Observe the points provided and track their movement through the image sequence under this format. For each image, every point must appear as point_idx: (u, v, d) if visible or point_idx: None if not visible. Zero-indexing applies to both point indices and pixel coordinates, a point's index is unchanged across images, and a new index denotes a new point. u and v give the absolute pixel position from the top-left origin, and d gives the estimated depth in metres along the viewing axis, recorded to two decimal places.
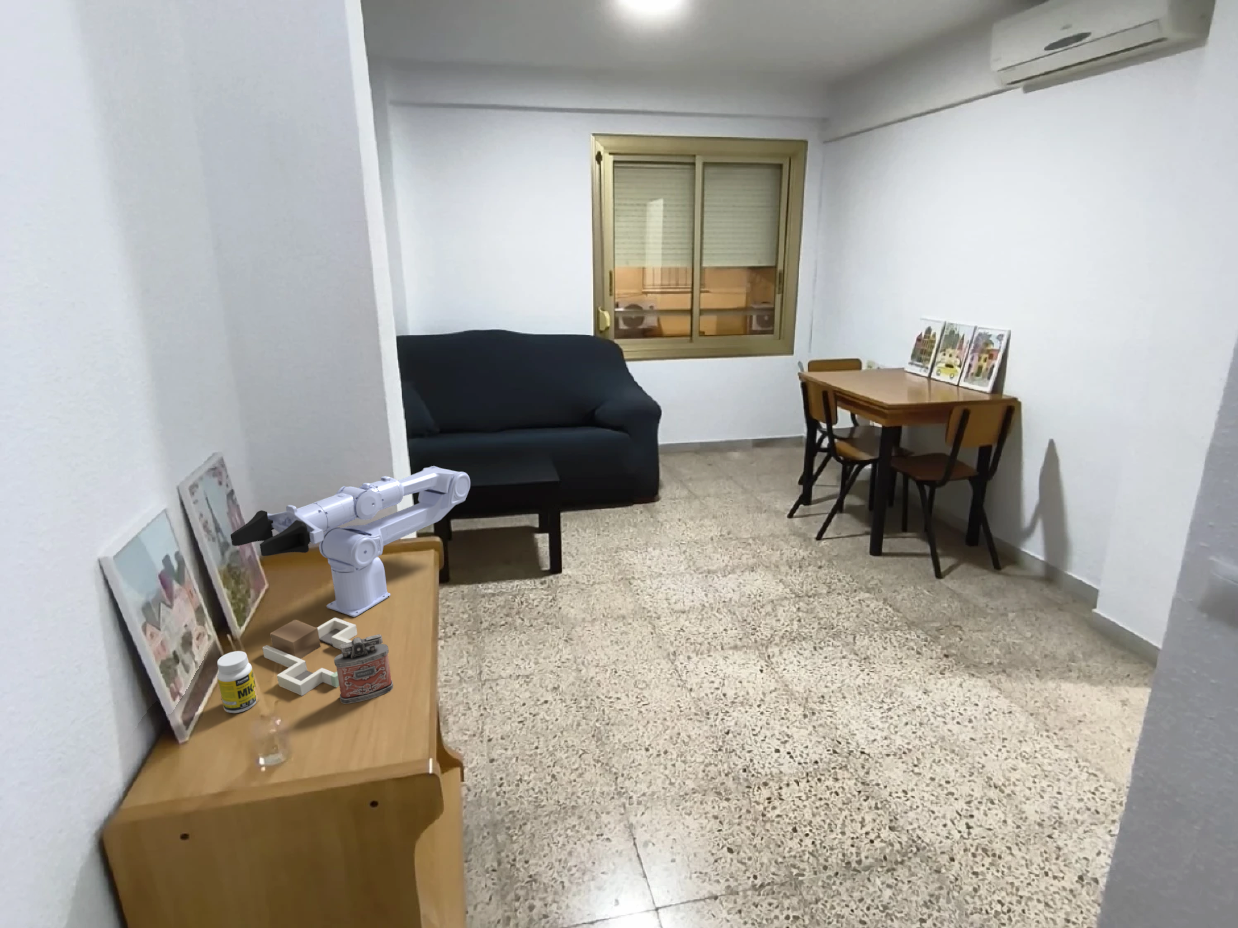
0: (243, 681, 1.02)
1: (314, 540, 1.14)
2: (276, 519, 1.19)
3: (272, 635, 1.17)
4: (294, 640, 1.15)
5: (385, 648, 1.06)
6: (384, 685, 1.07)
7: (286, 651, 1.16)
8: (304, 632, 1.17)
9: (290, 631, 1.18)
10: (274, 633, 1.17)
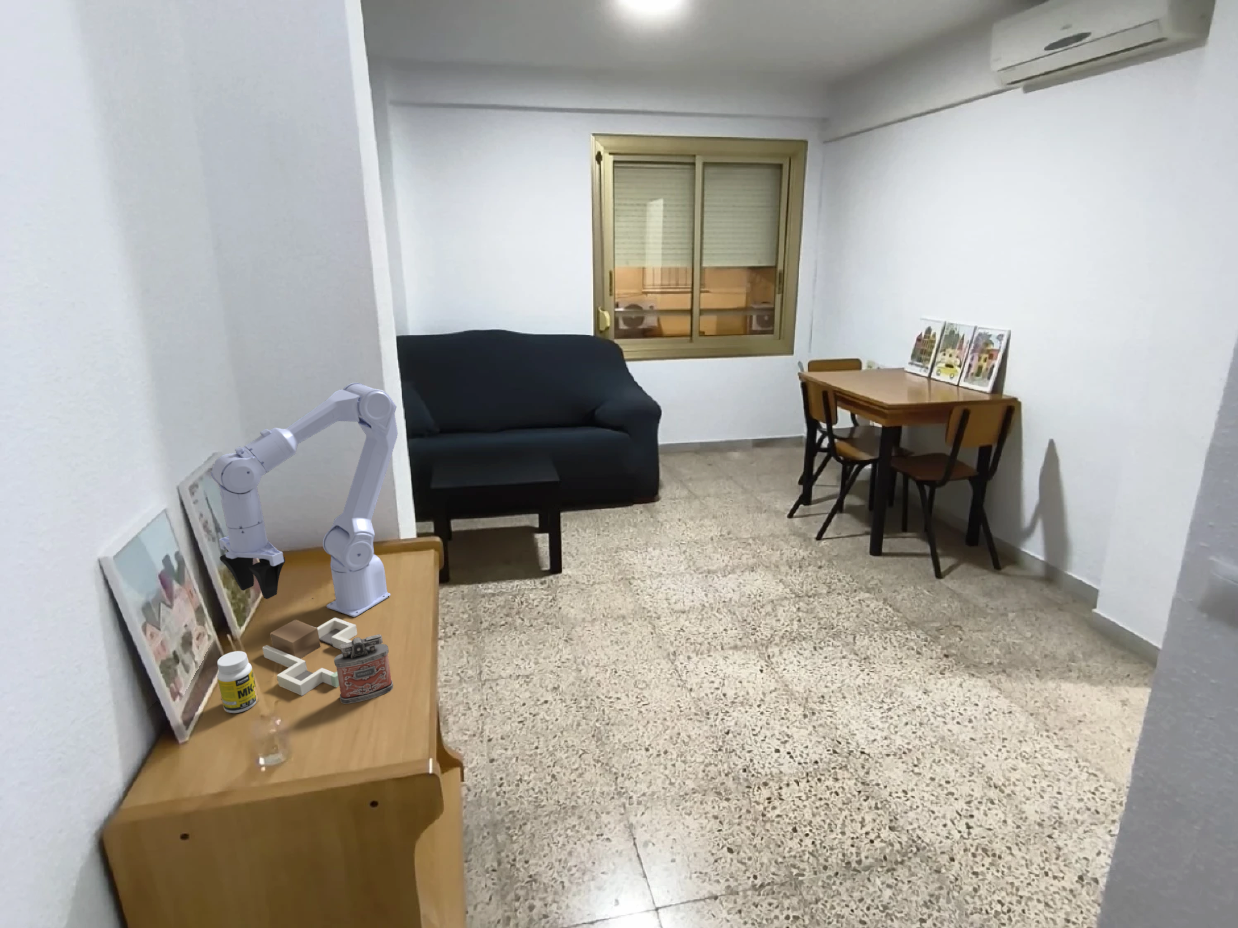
0: (243, 681, 1.02)
1: (280, 562, 1.14)
2: None
3: (272, 635, 1.17)
4: (294, 640, 1.15)
5: (385, 649, 1.06)
6: (384, 685, 1.07)
7: (286, 651, 1.16)
8: (304, 632, 1.17)
9: (290, 631, 1.18)
10: (274, 633, 1.17)
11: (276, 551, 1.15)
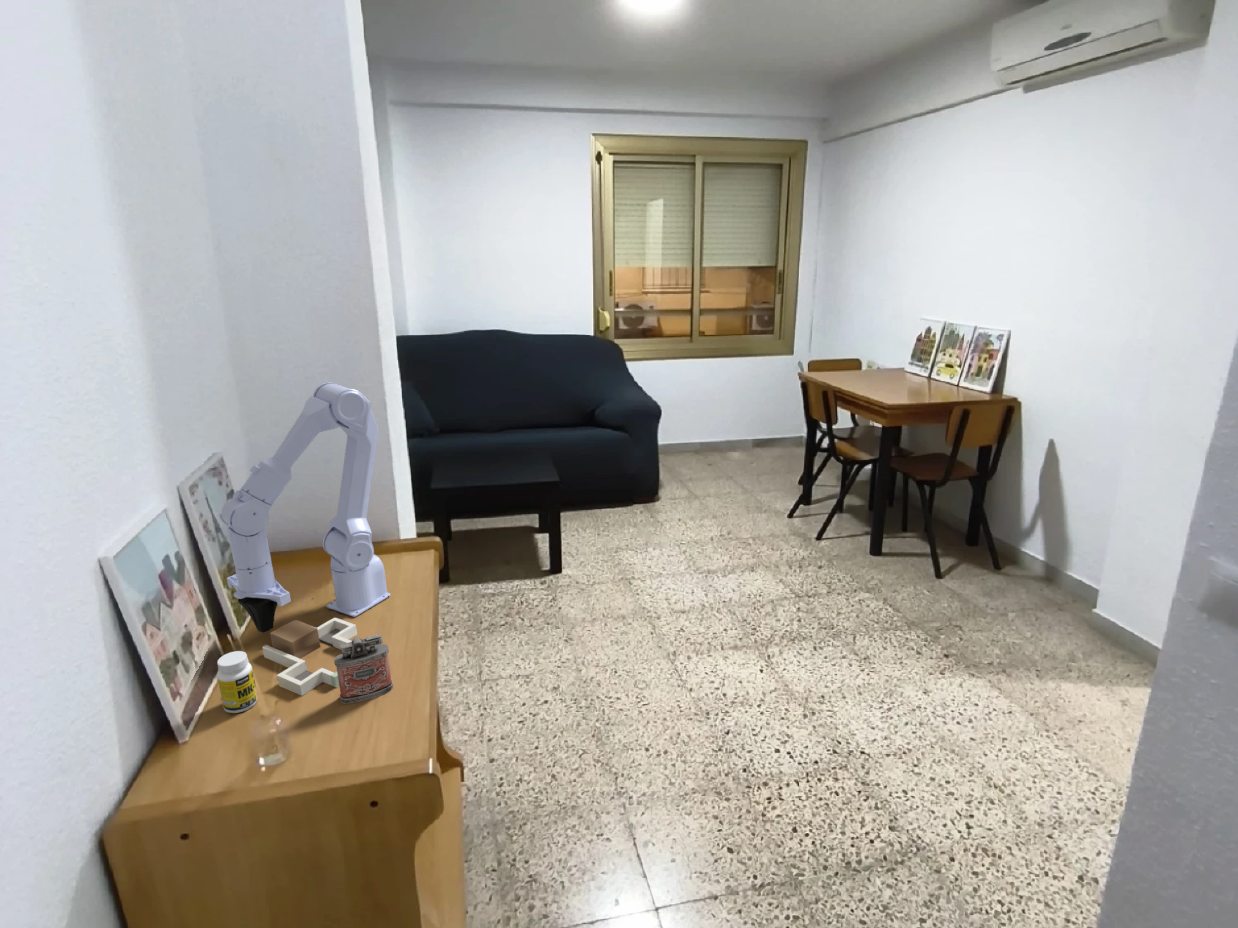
0: (243, 681, 1.02)
1: (287, 602, 1.17)
2: None
3: (272, 635, 1.17)
4: (293, 640, 1.15)
5: (385, 649, 1.06)
6: (384, 685, 1.07)
7: (286, 651, 1.16)
8: (304, 632, 1.17)
9: (290, 631, 1.18)
10: (274, 633, 1.17)
11: (283, 591, 1.17)
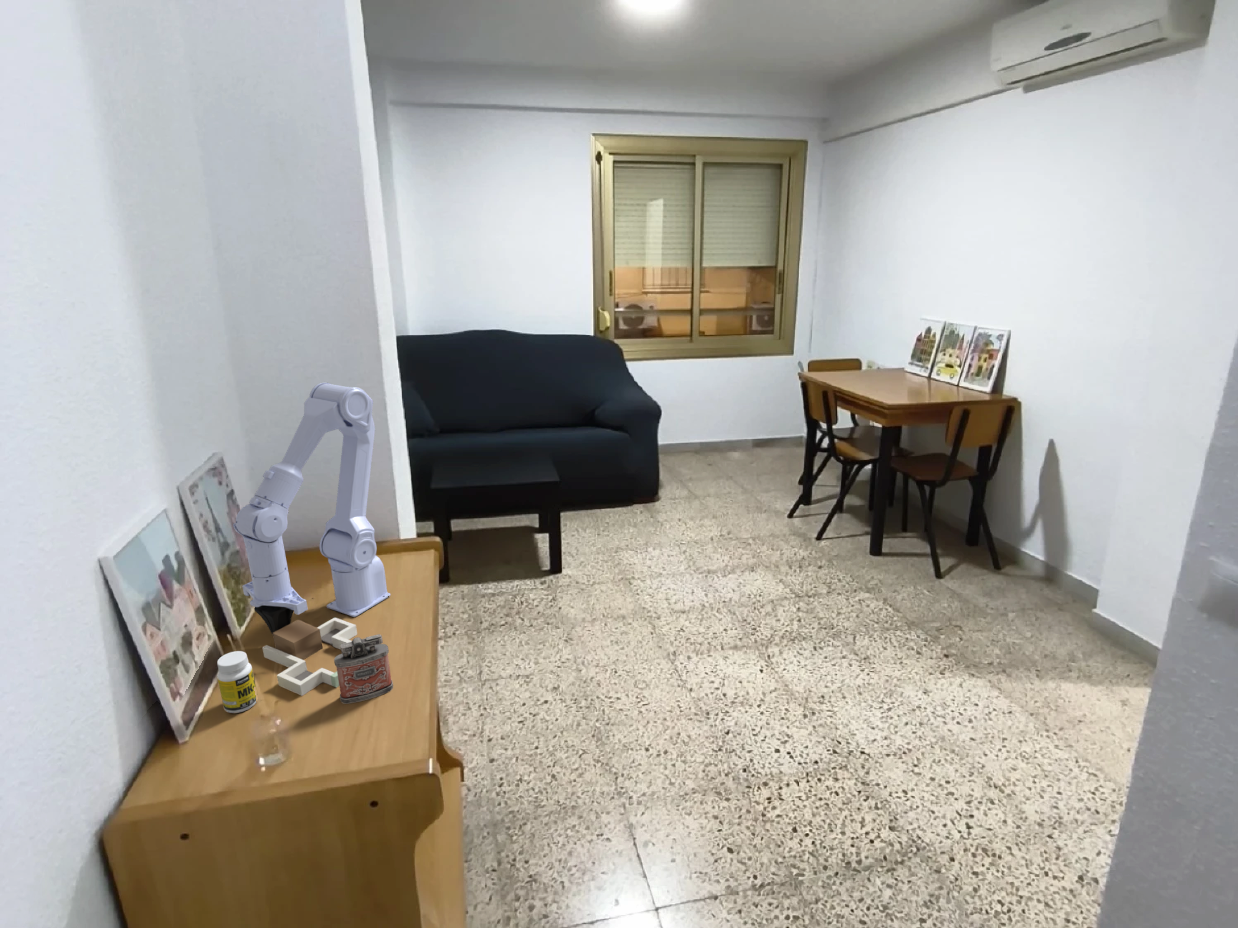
0: (243, 681, 1.02)
1: (304, 610, 1.15)
2: None
3: (274, 635, 1.17)
4: (295, 641, 1.14)
5: (385, 648, 1.06)
6: (384, 685, 1.07)
7: (288, 651, 1.16)
8: (306, 633, 1.17)
9: (292, 631, 1.17)
10: (276, 633, 1.17)
11: (300, 599, 1.16)
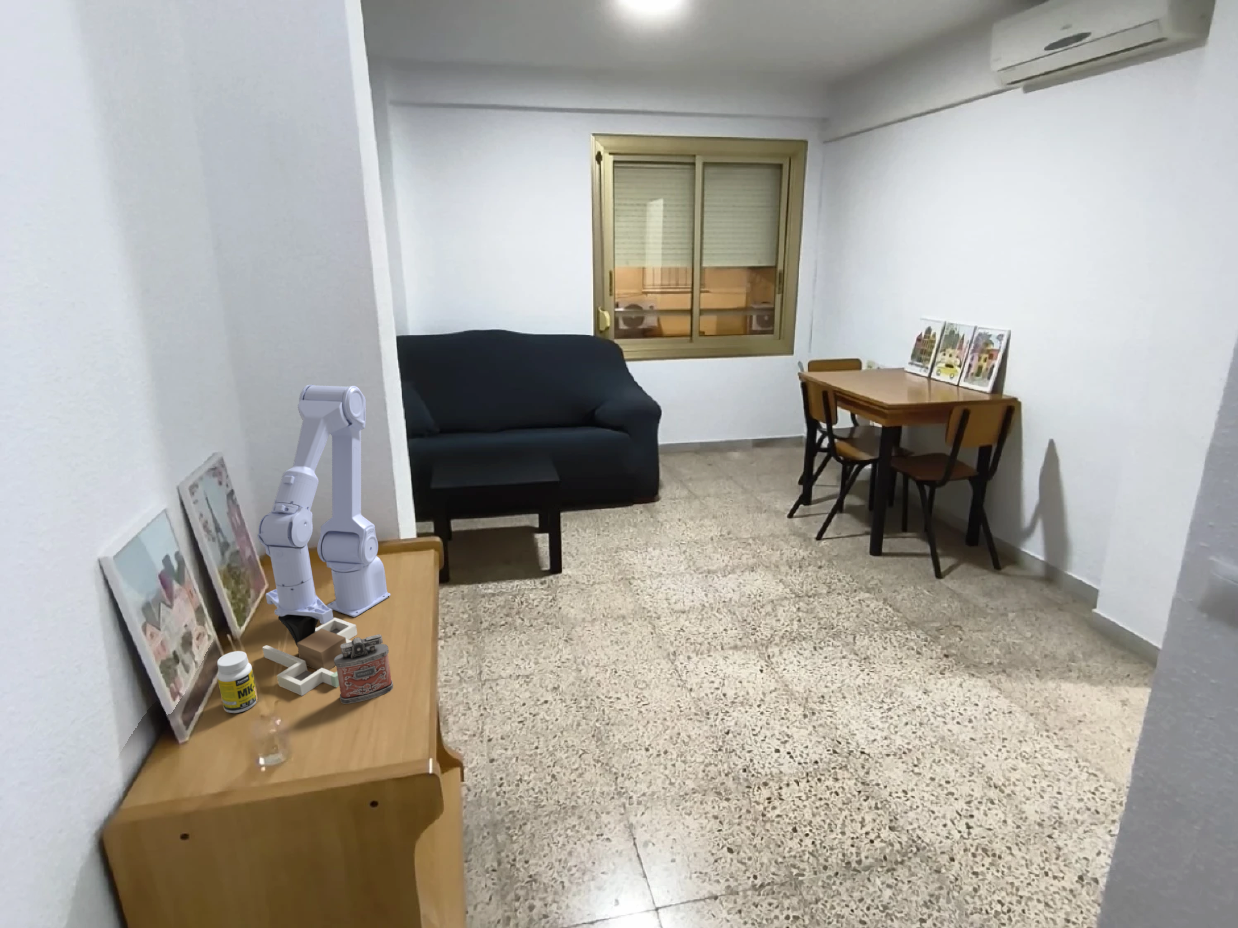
0: (243, 681, 1.02)
1: (330, 619, 1.12)
2: None
3: (299, 645, 1.14)
4: (322, 650, 1.12)
5: (385, 649, 1.06)
6: (384, 685, 1.07)
7: (314, 661, 1.13)
8: (332, 642, 1.14)
9: (317, 640, 1.14)
10: (301, 643, 1.14)
11: (325, 608, 1.13)
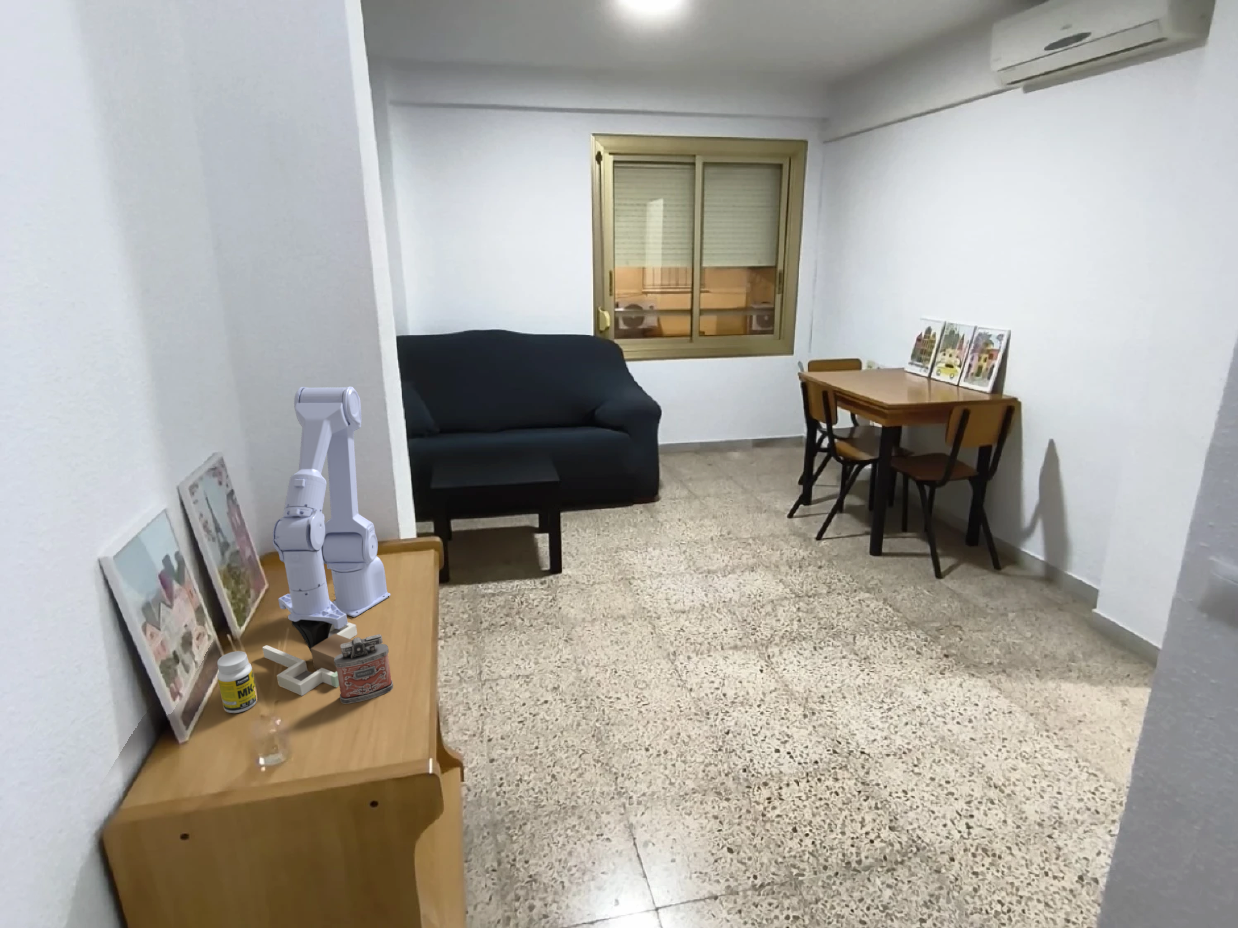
0: (243, 681, 1.02)
1: (344, 624, 1.11)
2: None
3: (312, 650, 1.12)
4: None
5: (385, 648, 1.06)
6: (384, 685, 1.07)
7: (328, 667, 1.12)
8: None
9: (331, 646, 1.13)
10: (315, 648, 1.12)
11: (340, 613, 1.11)
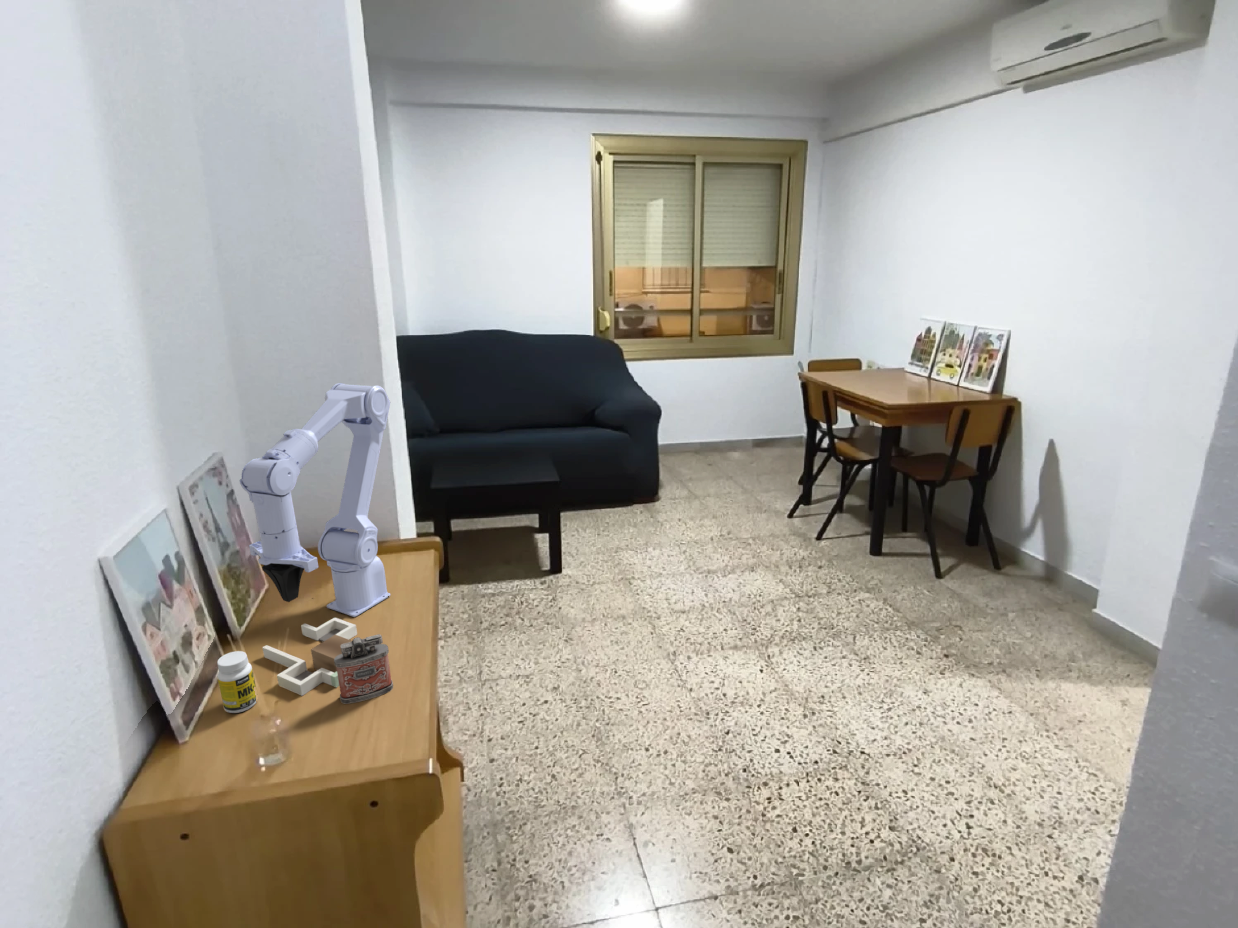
0: (243, 681, 1.02)
1: (315, 568, 1.11)
2: (263, 552, 1.15)
3: (313, 651, 1.12)
4: None
5: (385, 649, 1.06)
6: (384, 685, 1.07)
7: (328, 668, 1.12)
8: None
9: (331, 647, 1.13)
10: (315, 649, 1.12)
11: (310, 557, 1.12)
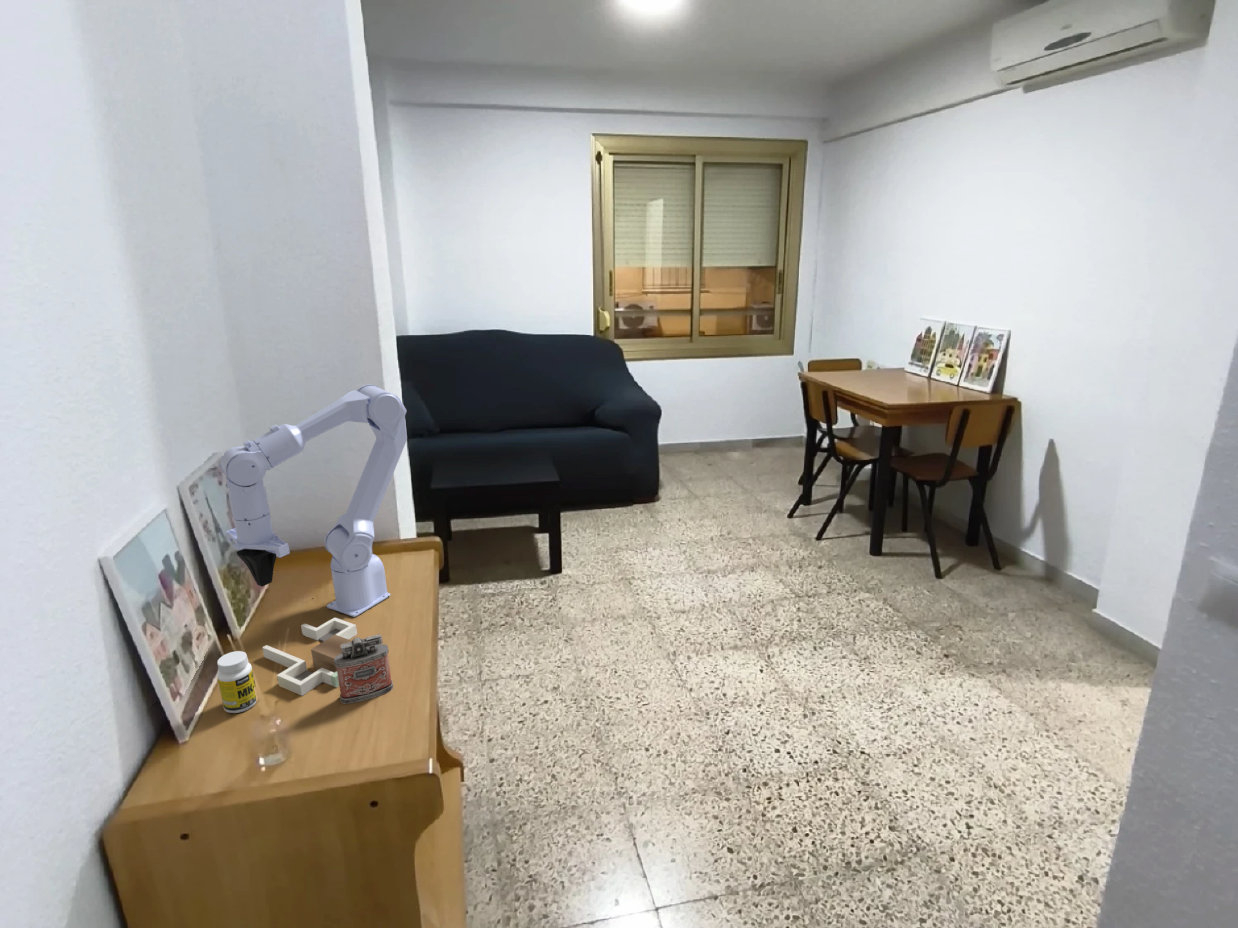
0: (243, 681, 1.02)
1: (286, 554, 1.16)
2: None
3: (313, 651, 1.12)
4: None
5: (385, 649, 1.06)
6: (384, 685, 1.07)
7: (328, 668, 1.12)
8: None
9: (331, 647, 1.13)
10: (315, 649, 1.12)
11: (282, 543, 1.17)
